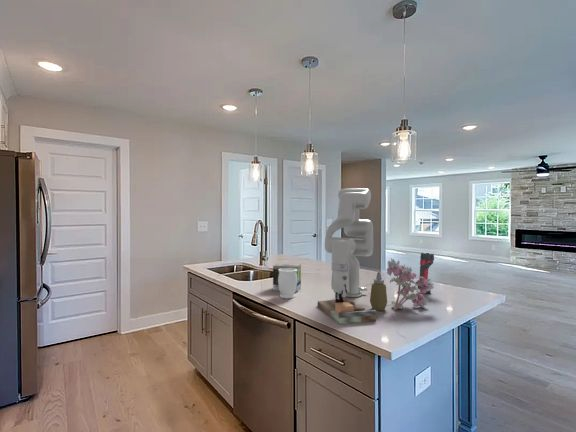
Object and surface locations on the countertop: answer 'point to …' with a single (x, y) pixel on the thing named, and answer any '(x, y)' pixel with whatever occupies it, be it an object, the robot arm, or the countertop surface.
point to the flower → (408, 285)
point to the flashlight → (425, 265)
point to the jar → (287, 282)
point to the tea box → (278, 266)
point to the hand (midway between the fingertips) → (339, 307)
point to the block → (343, 307)
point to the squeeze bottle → (378, 294)
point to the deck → (347, 317)
